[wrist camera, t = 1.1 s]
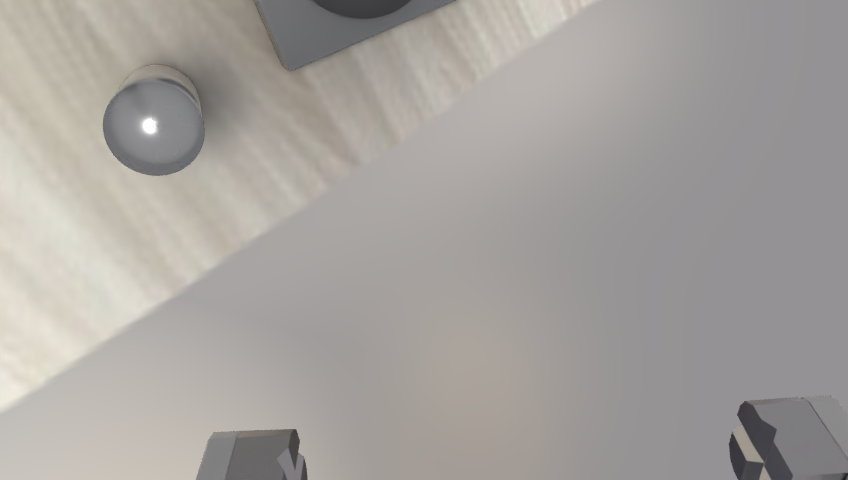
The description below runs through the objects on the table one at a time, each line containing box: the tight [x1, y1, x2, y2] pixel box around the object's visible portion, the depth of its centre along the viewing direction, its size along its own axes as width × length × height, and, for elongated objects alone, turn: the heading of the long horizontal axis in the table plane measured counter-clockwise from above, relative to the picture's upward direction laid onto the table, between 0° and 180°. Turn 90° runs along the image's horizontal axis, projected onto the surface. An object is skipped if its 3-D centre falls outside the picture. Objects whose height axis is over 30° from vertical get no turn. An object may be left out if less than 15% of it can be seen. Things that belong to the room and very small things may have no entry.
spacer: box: [103, 65, 204, 176], centre depth 39 cm, size 5×5×10 cm
